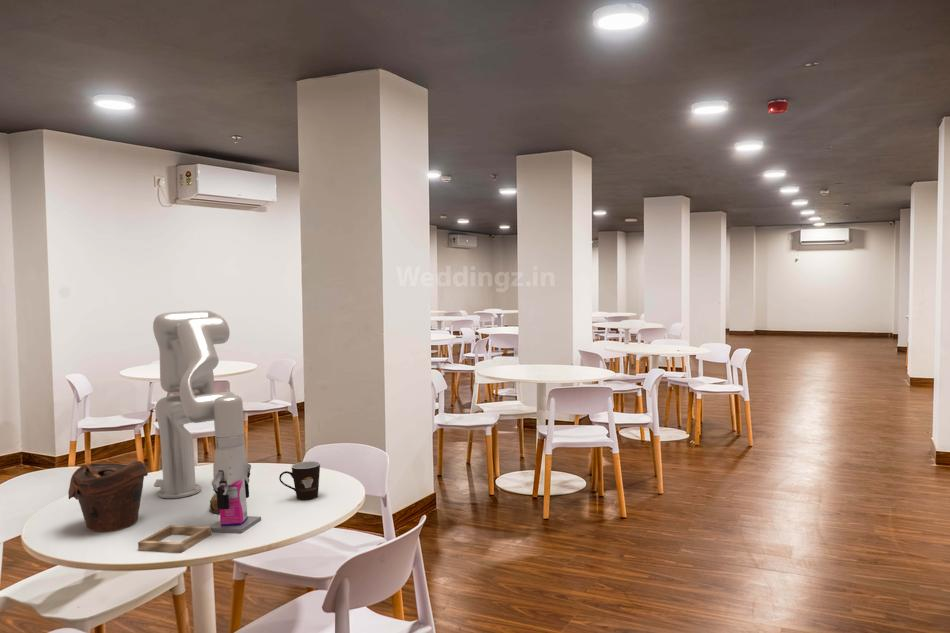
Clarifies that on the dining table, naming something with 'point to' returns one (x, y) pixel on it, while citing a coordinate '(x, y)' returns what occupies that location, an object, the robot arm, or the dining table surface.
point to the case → (108, 494)
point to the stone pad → (236, 526)
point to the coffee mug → (305, 479)
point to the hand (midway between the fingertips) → (233, 503)
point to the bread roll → (214, 505)
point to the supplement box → (235, 505)
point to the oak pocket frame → (155, 545)
